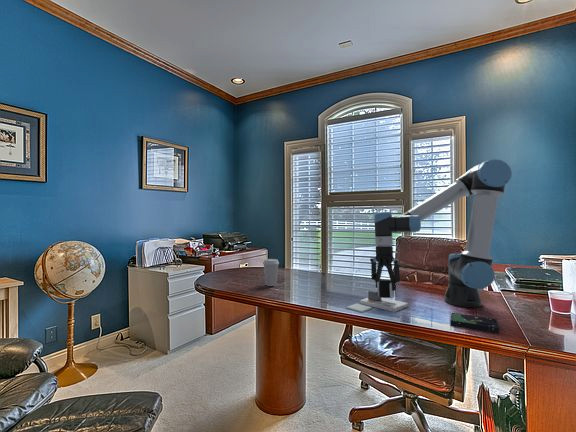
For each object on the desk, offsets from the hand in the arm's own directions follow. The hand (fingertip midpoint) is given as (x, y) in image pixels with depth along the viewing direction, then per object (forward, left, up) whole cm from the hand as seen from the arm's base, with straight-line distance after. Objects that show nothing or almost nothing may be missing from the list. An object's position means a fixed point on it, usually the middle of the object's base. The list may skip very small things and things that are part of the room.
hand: (386, 296), depth 134 cm
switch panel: (+1, 0, -4) cm, 4 cm away
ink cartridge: (0, 0, -1) cm, 1 cm away
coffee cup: (+65, +14, -4) cm, 66 cm away
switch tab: (+6, 0, -2) cm, 6 cm away
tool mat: (+6, +13, -4) cm, 15 cm away
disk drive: (-35, -1, -5) cm, 35 cm away
